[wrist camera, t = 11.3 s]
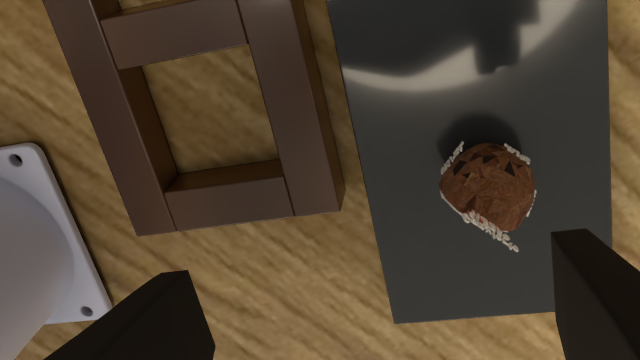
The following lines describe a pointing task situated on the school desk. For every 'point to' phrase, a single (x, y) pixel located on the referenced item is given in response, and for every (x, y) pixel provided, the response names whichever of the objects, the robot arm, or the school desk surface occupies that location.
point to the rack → (145, 129)
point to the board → (475, 140)
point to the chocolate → (489, 187)
